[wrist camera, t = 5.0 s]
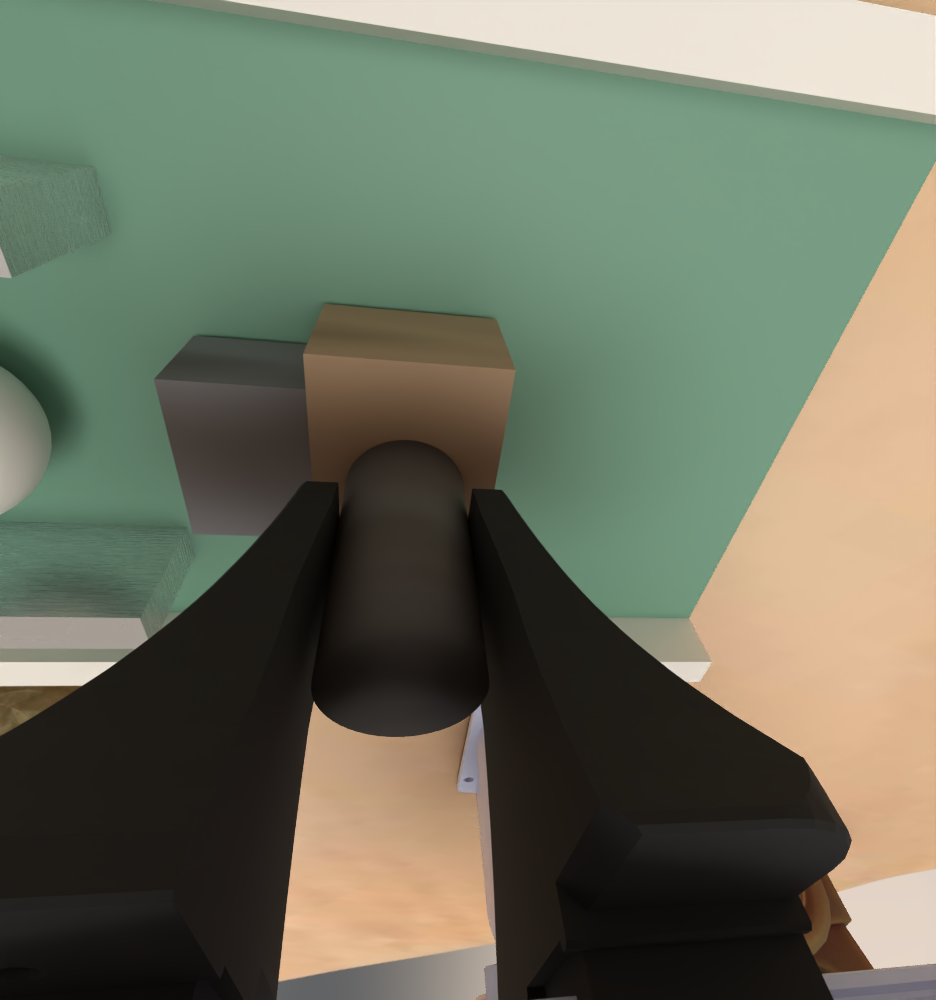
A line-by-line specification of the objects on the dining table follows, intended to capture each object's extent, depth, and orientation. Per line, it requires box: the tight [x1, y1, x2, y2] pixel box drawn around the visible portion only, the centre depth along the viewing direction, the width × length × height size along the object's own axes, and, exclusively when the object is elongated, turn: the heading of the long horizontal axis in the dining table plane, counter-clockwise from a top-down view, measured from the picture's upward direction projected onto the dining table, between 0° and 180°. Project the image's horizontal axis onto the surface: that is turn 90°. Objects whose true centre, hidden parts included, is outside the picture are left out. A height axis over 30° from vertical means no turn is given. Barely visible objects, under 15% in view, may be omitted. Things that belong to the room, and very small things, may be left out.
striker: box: [154, 304, 516, 737], centre depth 11 cm, size 6×7×8 cm
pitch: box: [0, 0, 936, 686], centre depth 14 cm, size 18×26×3 cm
